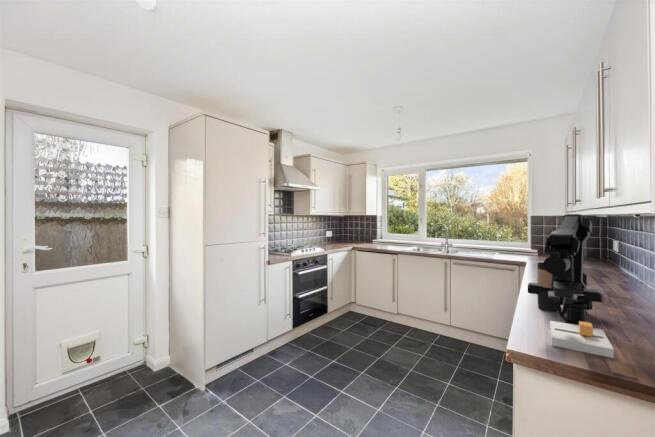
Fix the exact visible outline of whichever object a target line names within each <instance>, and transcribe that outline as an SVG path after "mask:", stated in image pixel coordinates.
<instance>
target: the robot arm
mask: <svg viewBox="0 0 655 437" xmlns="http://www.w3.org/2000/svg"><path fill="white" fill-rule="evenodd" d="M591 233H593V223H592V221H591V219H589V218H586V217H584V216H583V215H582V214H580V213H572V214H571V213H567V214H564V215H563V218H561V224H560V226H559V228H558V229H557V230H553V231H551V232H550V233H549V234H548V236H547V237H546V242H545V247H544V254H549V257H546V258H545V259H544V260H543V262H544V263H543V266H544V268H545V270H546V271H547V272H549V273H550V274H551V287H542V284H538V283H537V282H529V283H527V294H531V295H532V294H533V295H538V294H540V293H542V292H547V293H548V297H549V298H551V299H553V301H554V302H555V304H556V306H557V309H558V311H557V312H558V313H559V317H560V318H561V319H562V318H563V319H564V323H567V324H573V325H579V321H582V322H587V320H586V314H585V309H587V311H591V310H593V309H594V306H593V305H594V304H593V302H594V303H602V302H603V295H602V293H601V292H600V291H599V290H598V289H594V288H593V289H590V288H588V287H586V286H585V284H584V283H583V272H584V253H585V252H584V249H585V243H586V242H587V241H588V240H589V238H590V237H591ZM585 304H587V305H585Z"/></svg>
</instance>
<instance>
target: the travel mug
mask: <svg viewBox="0 0 655 437" xmlns="http://www.w3.org/2000/svg"><path fill="white" fill-rule="evenodd" d="M543 263H544V261H543V262H538V263H537V278H536V279H537V280H536V283H538V284H542V287H551V274H550V273H549V272H547V271H546V270H545V268H544V266H543ZM537 308H538V309H539V310H541V309H542V310H541V311H545V312H552V313H553V312H554V313H555V312H558V309H557V306H556V304H555V302H554V301H553V299H551V298H549V297H548V293H547V292H542V293H540V294H537Z"/></svg>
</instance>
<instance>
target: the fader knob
mask: <svg viewBox="0 0 655 437" xmlns="http://www.w3.org/2000/svg"><path fill="white" fill-rule="evenodd" d="M593 328H594V327H593V324H592V322H588V321H586V322H582V321H579V333H580V335H585V336H590V337H593Z"/></svg>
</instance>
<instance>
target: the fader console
mask: <svg viewBox="0 0 655 437" xmlns="http://www.w3.org/2000/svg"><path fill="white" fill-rule="evenodd" d="M549 331H550V340H551V346H554V347H559V348H563V349H568V350H573V351H579V352H583V353H587V354H592V355H597V356H600V357H601V356H602V357H606V358H612V359H615V349H614V347H613V346H612V343H611V342H610V340H609V339H608V336H607V334H606V333H605V331H604V329H603V328H602V329H601V328H596V327H593V337H590V336H585V335H580V333H579V325H576V324H570V323H565V322H560V321H554V320H550V321H549Z"/></svg>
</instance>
